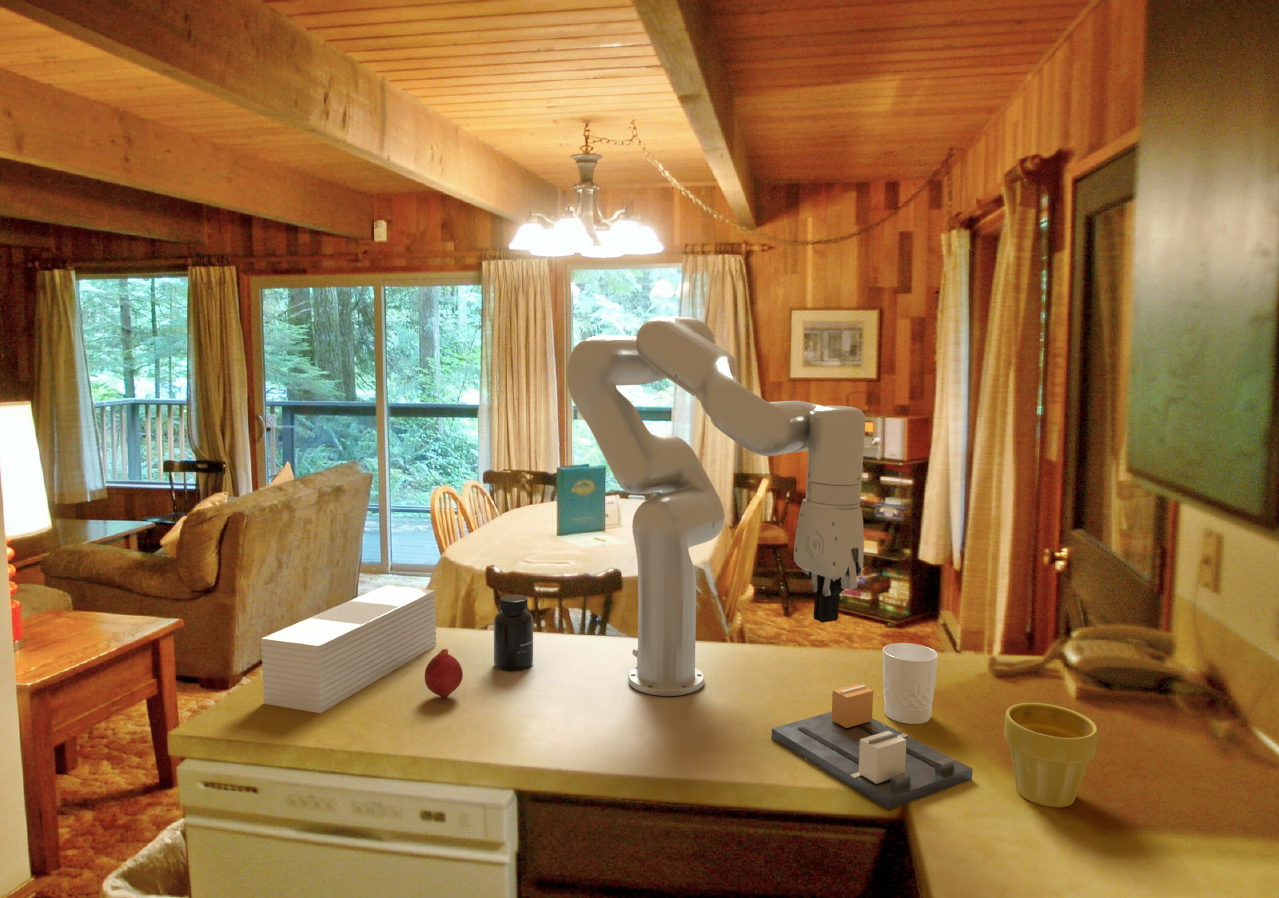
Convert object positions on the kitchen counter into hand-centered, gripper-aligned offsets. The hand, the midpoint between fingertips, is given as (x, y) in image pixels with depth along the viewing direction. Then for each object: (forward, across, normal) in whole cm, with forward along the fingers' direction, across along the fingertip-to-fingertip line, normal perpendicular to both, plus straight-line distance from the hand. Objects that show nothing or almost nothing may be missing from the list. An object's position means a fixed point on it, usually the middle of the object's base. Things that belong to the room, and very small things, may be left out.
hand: (825, 619), depth 121 cm
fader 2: (+14, +17, -4) cm, 22 cm away
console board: (+16, +10, 0) cm, 19 cm away
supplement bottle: (+18, -45, -31) cm, 57 cm away
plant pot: (+16, +27, +13) cm, 34 cm away
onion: (+18, -36, -46) cm, 61 cm away
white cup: (+16, +2, +15) cm, 22 cm away
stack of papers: (+19, -54, -56) cm, 80 cm away
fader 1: (+15, +3, +4) cm, 15 cm away
